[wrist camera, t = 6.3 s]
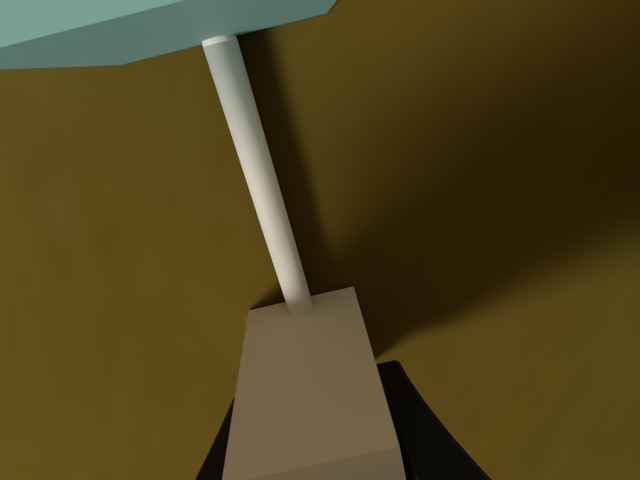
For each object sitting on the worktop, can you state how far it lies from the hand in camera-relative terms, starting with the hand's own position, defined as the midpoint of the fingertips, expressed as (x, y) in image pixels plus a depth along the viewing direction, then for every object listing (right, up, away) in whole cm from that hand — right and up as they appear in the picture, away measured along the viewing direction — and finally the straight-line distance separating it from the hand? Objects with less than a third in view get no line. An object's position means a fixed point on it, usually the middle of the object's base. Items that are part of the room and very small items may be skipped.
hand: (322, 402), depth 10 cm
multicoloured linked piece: (-2, +7, -1) cm, 7 cm away
